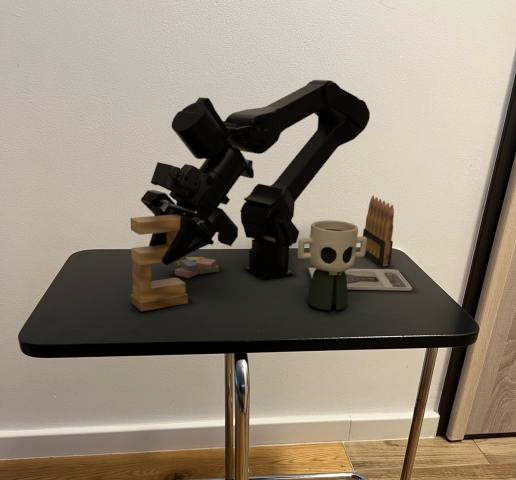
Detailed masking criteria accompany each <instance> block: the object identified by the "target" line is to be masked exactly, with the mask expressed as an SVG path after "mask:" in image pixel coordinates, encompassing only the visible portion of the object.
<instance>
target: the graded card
mask: <svg viewBox="0 0 516 480" xmlns="http://www.w3.org/2000/svg"><path fill="white" fill-rule="evenodd" d="M315 270H316V268H314V267H308V273H309V275H310V279H311V280H312V277H313V273H314V271H315ZM345 274H346V277H347V290H359V291H361V290H362V291H406V292H407V291H409V292H410V291H412V290H413V287H412V285H411V284H410V283H409V282H408V281H407V280H406V278H405V277H404V276H403V275H402V274H401V272H400V271H399V270H398V269H389V268H388V269H387V268H350V269H349V270H346V271H345Z"/></svg>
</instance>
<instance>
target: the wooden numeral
mask: <svg viewBox="0 0 516 480" xmlns="http://www.w3.org/2000/svg"><path fill="white" fill-rule="evenodd" d="M179 230H180V216H179V215H177V214H176V215H163V216H154V215H151V216H149V215H148V216H138V217H137V216H136V217H135V216H134V217H130V231H132V232H133V233H135V234H137V235H139V236H140V235H141V236H142V235H152V234H153V233H164V232H167V244H165V245H156V246H149V245H147V246H138V247H137V246H136V247H131V248H130V251H131V252H130V253H131V273H132V275H131V276H132V277H131V279H132V293H130V294H129V295H130V304H132V305H133V306H134V307H135V308H136V309H137V310H138V311H140V312H147V311H153V310H158V309H163V308H170V307H176V306H180V305H187V304H189V294H188V293H187V291H186V289H187V288H186V287H187V285H186V282H184V281H183V280H181V279H180V278H179V277H171V278H164V279H157V280H152V265H153V264H161V263H162V264H163V262H162V259H163V257H164V255H165V253H166V251H167V250H168V248H169V246H170V245H171V243H172V242H173V240H174V238H175V237H176V235H177V233H178V232H179ZM186 257H187V255H185V256H184V257H182V258H180V259H178V260H186ZM178 260H176V261H175V262H177V261H178Z"/></svg>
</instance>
